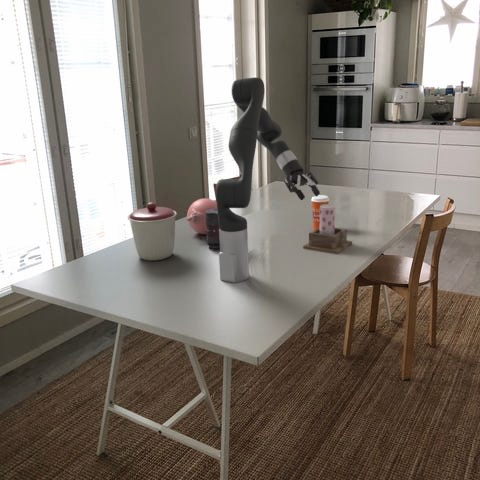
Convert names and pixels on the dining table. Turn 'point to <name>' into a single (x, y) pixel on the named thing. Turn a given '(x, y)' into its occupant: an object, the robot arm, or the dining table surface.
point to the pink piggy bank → (200, 214)
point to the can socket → (328, 241)
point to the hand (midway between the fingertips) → (310, 196)
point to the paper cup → (318, 208)
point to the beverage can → (327, 219)
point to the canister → (153, 231)
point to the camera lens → (212, 229)
